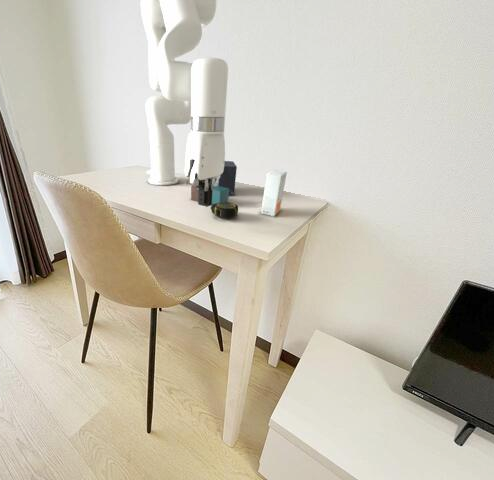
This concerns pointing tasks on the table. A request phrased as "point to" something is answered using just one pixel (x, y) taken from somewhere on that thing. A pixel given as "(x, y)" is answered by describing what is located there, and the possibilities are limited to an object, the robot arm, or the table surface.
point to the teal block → (220, 194)
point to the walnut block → (194, 193)
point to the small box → (228, 177)
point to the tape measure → (225, 210)
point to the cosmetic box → (273, 192)
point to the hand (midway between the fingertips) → (204, 204)
